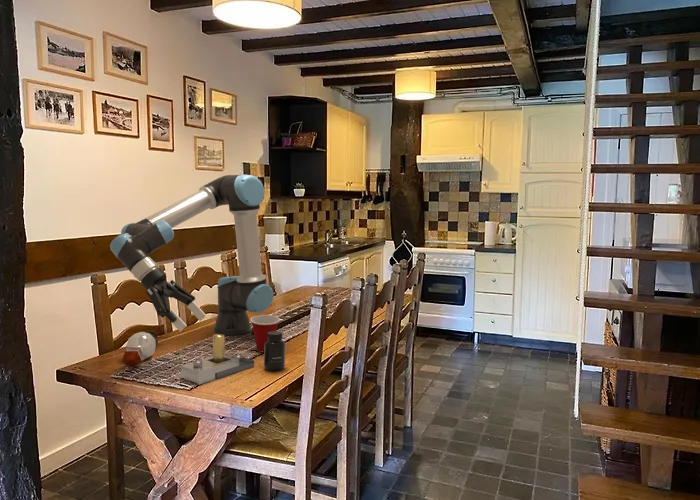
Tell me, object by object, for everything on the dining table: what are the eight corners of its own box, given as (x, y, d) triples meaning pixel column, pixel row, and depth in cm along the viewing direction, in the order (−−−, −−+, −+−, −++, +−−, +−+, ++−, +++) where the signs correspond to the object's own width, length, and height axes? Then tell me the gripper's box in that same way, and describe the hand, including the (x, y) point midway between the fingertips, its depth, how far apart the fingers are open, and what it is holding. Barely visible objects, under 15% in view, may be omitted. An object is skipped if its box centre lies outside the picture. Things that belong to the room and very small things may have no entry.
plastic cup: (255, 356, 180) (255, 322, 179) (246, 347, 190) (246, 316, 188) (284, 352, 185) (284, 320, 184) (274, 344, 195) (274, 313, 193)
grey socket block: (221, 365, 169) (220, 349, 169) (239, 371, 164) (239, 354, 163) (180, 378, 157) (180, 360, 156) (198, 384, 152) (198, 367, 151)
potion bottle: (150, 357, 180) (137, 377, 166) (125, 342, 178) (110, 361, 164) (164, 337, 179) (153, 355, 165) (140, 322, 177) (126, 339, 163)
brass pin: (219, 369, 166) (219, 333, 164) (226, 371, 163) (226, 335, 162) (210, 372, 163) (210, 335, 161) (217, 374, 161) (217, 337, 159)
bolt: (153, 343, 200) (151, 353, 186) (141, 337, 198) (138, 347, 184) (161, 330, 200) (159, 339, 186) (148, 324, 199) (147, 333, 185)
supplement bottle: (275, 373, 163) (275, 336, 162) (259, 369, 166) (259, 333, 165) (289, 367, 169) (289, 332, 167) (273, 363, 172) (273, 329, 171)
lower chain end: (236, 360, 174) (236, 350, 174) (254, 366, 169) (254, 356, 169) (198, 372, 162) (198, 361, 162) (216, 379, 157) (216, 368, 156)
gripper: (162, 276, 176) (203, 321, 175) (118, 289, 152) (165, 341, 151) (176, 262, 175) (217, 307, 174) (134, 272, 150) (182, 325, 149)
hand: (193, 323), depth 162 cm, fingers open, 13 cm apart
